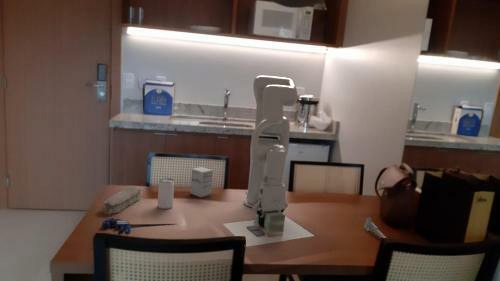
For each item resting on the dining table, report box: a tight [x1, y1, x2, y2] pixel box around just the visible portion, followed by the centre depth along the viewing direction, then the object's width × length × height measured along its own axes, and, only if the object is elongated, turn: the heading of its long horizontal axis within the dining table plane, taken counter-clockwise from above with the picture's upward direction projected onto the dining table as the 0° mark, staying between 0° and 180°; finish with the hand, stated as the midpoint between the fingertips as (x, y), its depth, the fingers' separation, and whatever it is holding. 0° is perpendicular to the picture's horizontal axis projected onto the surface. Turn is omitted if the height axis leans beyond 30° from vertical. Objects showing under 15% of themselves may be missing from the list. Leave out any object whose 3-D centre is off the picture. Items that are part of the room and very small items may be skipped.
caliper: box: [363, 216, 387, 239], centre depth 151 cm, size 20×1×6 cm, turn 17°
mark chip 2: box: [252, 230, 265, 237], centre depth 142 cm, size 4×4×1 cm
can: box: [157, 177, 175, 210], centre depth 163 cm, size 6×6×12 cm
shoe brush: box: [102, 186, 142, 215], centre depth 161 cm, size 24×8×5 cm, turn 169°
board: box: [222, 215, 315, 247], centre depth 147 cm, size 20×30×2 cm, turn 119°
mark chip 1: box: [247, 226, 259, 232], centre depth 145 cm, size 4×4×1 cm
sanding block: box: [254, 207, 286, 237], centre depth 146 cm, size 12×6×8 cm, turn 28°
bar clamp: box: [101, 217, 178, 234], centre depth 142 cm, size 32×2×10 cm
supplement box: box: [189, 166, 214, 198], centre depth 183 cm, size 7×7×13 cm
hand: (268, 224), depth 146 cm, fingers closed on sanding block, 6 cm apart
